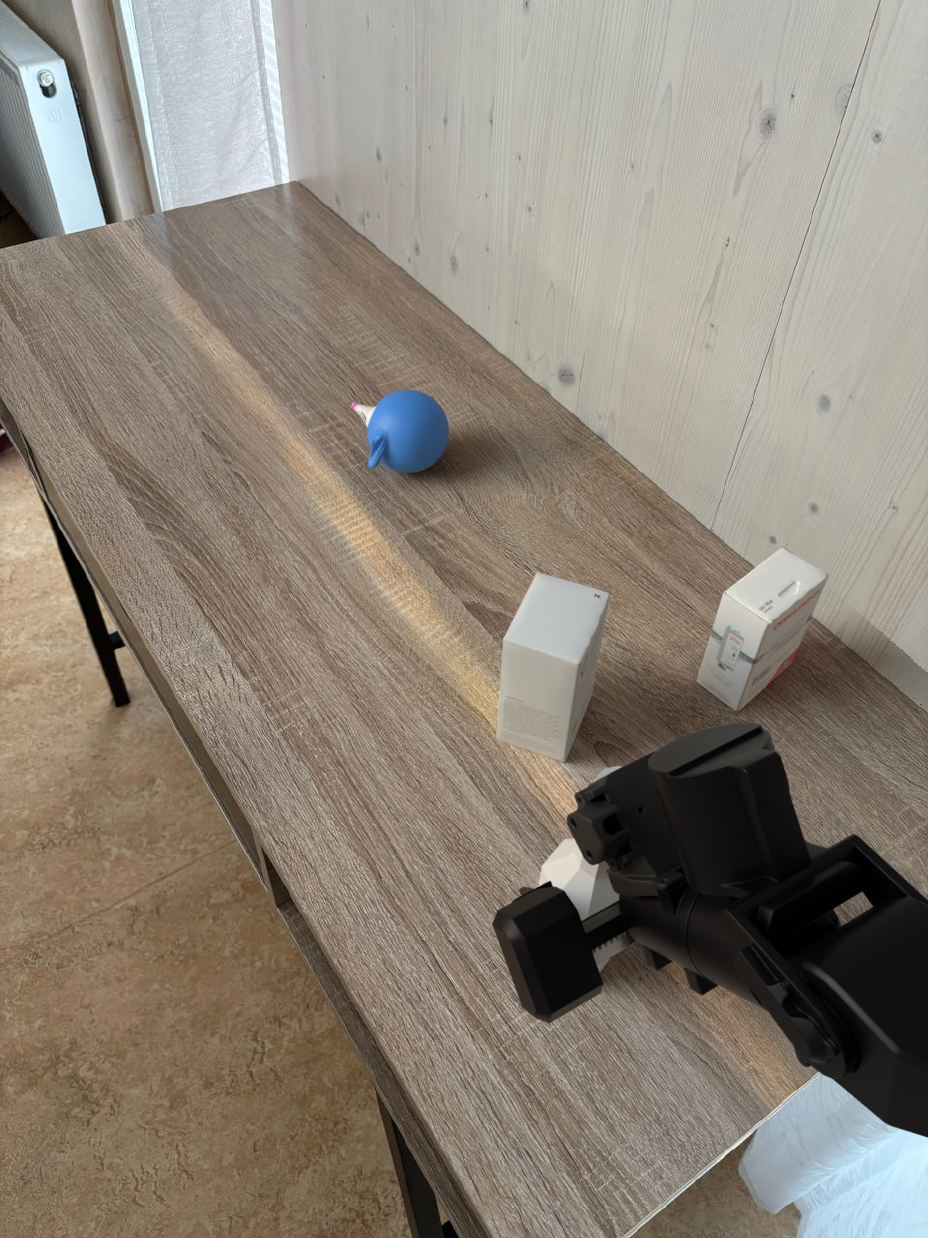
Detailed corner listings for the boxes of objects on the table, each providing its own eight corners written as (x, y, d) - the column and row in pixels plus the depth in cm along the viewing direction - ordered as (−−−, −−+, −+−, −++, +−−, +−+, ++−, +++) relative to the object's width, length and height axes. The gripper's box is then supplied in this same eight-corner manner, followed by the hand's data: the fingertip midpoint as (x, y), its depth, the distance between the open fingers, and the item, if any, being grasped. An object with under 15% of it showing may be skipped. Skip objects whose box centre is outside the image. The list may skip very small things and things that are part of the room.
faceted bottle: (636, 967, 72) (697, 800, 56) (564, 1014, 70) (606, 853, 54) (583, 897, 76) (625, 720, 60) (513, 939, 73) (537, 767, 57)
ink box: (751, 634, 94) (784, 541, 86) (795, 664, 92) (833, 572, 83) (692, 682, 90) (721, 589, 81) (737, 715, 88) (771, 623, 79)
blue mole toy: (387, 411, 116) (385, 347, 110) (472, 450, 112) (474, 385, 106) (318, 463, 110) (311, 398, 103) (405, 507, 105) (404, 442, 99)
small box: (525, 672, 90) (536, 568, 81) (593, 694, 89) (612, 591, 79) (493, 741, 85) (501, 638, 76) (565, 765, 84) (582, 664, 74)
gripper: (826, 707, 53) (661, 692, 67) (524, 863, 46) (413, 808, 61) (886, 900, 54) (711, 844, 69) (600, 1078, 48) (474, 975, 62)
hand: (584, 863), depth 65 cm, fingers open, 9 cm apart
